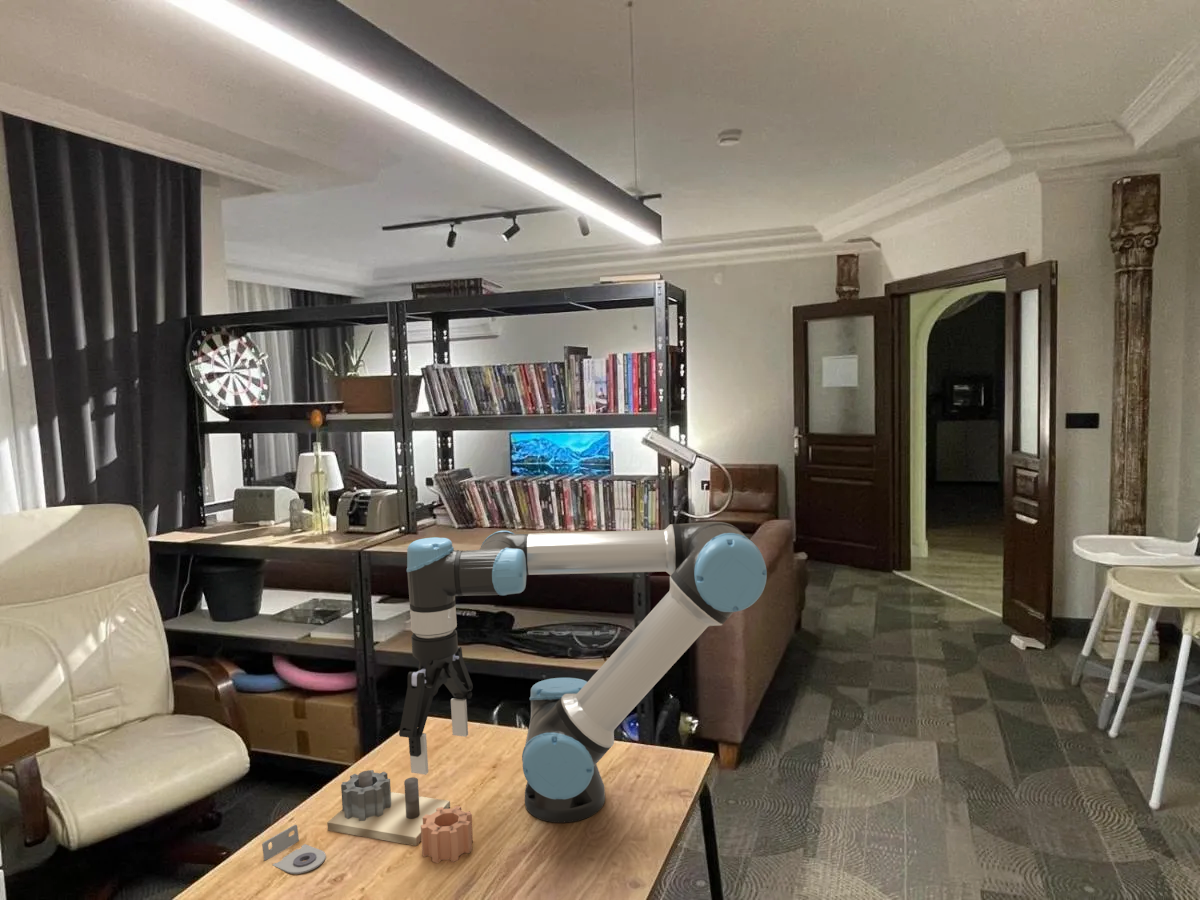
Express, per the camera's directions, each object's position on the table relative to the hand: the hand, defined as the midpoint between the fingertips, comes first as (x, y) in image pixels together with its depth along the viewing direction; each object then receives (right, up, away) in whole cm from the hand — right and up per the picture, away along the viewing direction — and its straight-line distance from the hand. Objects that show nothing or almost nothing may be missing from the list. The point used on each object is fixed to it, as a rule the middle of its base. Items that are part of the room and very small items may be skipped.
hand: (441, 753), depth 130 cm
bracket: (-24, -18, 0) cm, 30 cm away
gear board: (-11, -16, +10) cm, 22 cm away
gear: (+1, -17, +1) cm, 17 cm away
